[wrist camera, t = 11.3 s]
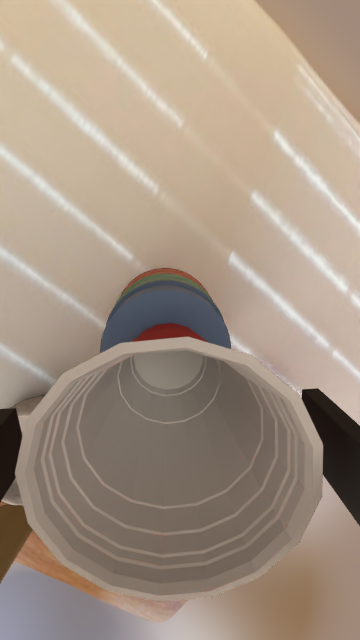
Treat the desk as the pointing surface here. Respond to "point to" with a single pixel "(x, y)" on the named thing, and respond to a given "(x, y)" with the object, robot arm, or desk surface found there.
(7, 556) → the wooden peg doll
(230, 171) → the desk surface
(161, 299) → the cup stack
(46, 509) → the plastic cup
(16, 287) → the desk surface
